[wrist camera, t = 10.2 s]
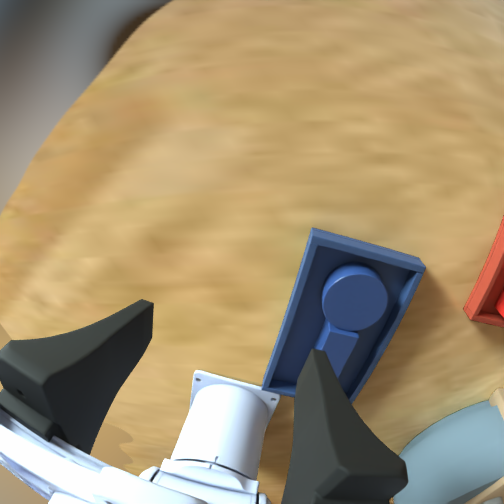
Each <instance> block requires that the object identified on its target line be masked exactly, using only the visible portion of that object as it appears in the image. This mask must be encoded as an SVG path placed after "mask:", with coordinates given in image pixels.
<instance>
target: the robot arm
mask: <svg viewBox="0 0 504 504" xmlns="http://www.w3.org/2000/svg"><path fill="white" fill-rule="evenodd" d="M153 309H154V303H152V302H149V301H146V300H143V299H141V300H139V301H137V302H135V303H134V304H132V305H130V306H128V307H126V308H124V309H122V310H120V311H119V312H117V313H115V314H113V315H111V316H109V317H107V318H105V319H102V320H100V321H98V322H96V323H94V324H91V325H89V326H86V327H84V328H81V329H78V330H75V331H72V332H68V333H64V334H60V335H56V336H52V337H46V338H39V339H31V340H11V341H10V342H9V343H7V344H6V345H5V346H4V347H3V348H2V349H1V350H0V381H1V384H2V386H3V389H2V391H1V392H0V464H2V465H3V466H4V467H5V468H6V469H8V470H9V471H10V472H11V473H12V474H14V475H15V476H16V477H18V478H19V479H20V480H21V481H23V482H24V483H25V484H27V485H28V486H29V487H30V488H32V489H33V490H35V491H36V492H37V493H39V494H40V495H42V496H43V497H44V498H46V499H47V500H49V503H48V504H271V501H270V500H269V499H268V498H267V495H266V494H265V493H259V492H258V487H259V482H258V481H256V479H257V474H258V468H259V463H260V457H261V452H262V446H263V440H264V435H265V430H266V428H267V426H268V424H269V422H270V420H271V417H272V415H273V413H274V411H275V409H276V406H277V404H278V402H279V400H280V398H281V395H280V394H276V393H271V392H267V391H262V390H261V389H262V387H261V386H256V385H252V384H248V383H244V382H241V381H237V380H233V379H229V378H226V377H222V376H218V375H215V374H211V373H208V372H205V371H201V370H196V371H195V373H194V377H193V385H192V393H191V401H190V410H189V414H188V416H187V419H186V421H185V424H184V426H183V429H182V431H181V434H180V436H179V439H178V441H177V444H176V446H175V449H174V451H173V454H172V456H171V459H170V460H169V459H164V461H163V463H162V466H161V468H158V467H156V466H153V467H151V468H149V469H147V470H145V471H144V472H142V473H141V475H140V476H139V477H138V476H135V475H133V474H130V473H128V472H126V471H123V470H120V469H117V468H115V467H112V466H110V465H108V464H106V463H104V462H102V461H100V460H98V459H96V458H94V457H92V456H90V453H91V450H92V447H93V444H94V442H95V439H96V437H97V434H98V432H99V430H100V427H101V425H102V423H103V421H104V418H105V416H106V414H107V412H108V410H109V408H110V406H111V404H112V402H113V400H114V398H115V396H116V394H117V393H118V391H119V389H120V388H121V386H122V385H123V383H124V382H125V380H126V379H127V378H128V376H129V375H130V373H131V372H132V370H133V369H134V368H135V366H136V365H137V363H138V362H139V360H140V359H141V357H142V356H143V354H144V352H145V351H146V349H147V347H148V345H149V343H150V341H151V339H152V329H153ZM407 484H408V474H407V467H406V463H405V461H404V460H403V459H401V458H400V457H399V456H398V455H396V454H395V453H394V452H393V451H391V450H390V449H389V448H388V447H387V446H386V445H385V444H384V443H383V442H381V441H380V440H379V439H378V438H377V436H376V435H375V434H374V433H373V432H372V431H371V430H370V429H369V428H368V426H367V425H366V424H365V423H364V422H363V420H362V419H361V418H360V416H359V415H358V413H357V412H356V411H355V409H354V408H353V406H352V405H351V403H350V401H349V399H348V398H347V396H346V394H345V392H344V391H343V389H342V387H341V385H340V383H339V381H338V379H337V377H336V374H335V372H334V370H333V368H332V366H331V363H330V361H329V359H328V356H327V354H326V352H325V351H322V350H317V349H313V348H312V349H311V351H310V354H309V356H308V358H307V360H306V362H305V364H304V367H303V369H302V371H301V373H300V375H299V377H298V379H297V386H296V392H295V399H294V430H293V447H292V453H291V459H290V465H289V470H288V475H287V480H286V485H285V489H284V494H283V498H282V502H281V504H389V499H390V498H392V497H393V496H395V495H396V494H398V493H399V492H400V491H402V490H403V489H404V488H405V487H406V486H407ZM257 492H258V494H257Z"/></svg>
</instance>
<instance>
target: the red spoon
mask: <svg viewBox="0 0 504 504" xmlns="http://www.w3.org/2000/svg"><path fill="white" fill-rule="evenodd" d="M494 307H495V308H496V309H497V310H498V312H499V313H500V314H501V315H502V317H503V318H504V288H503V290H502V292H501V294H500V296H499V298H498V300H497V302H496V304H495V306H494Z"/></svg>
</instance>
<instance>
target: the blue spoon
mask: <svg viewBox="0 0 504 504" xmlns="http://www.w3.org/2000/svg"><path fill="white" fill-rule="evenodd" d="M321 294H322V308H323V312H324V315H325V317H326V319H325V322H324V324H323V327H322V329H321V332H320V334H319V336H318V339H317V341H316V343H315V346H314V348H313V349H317V350H322V351H325V352H326V354H327V356H328V359H329V361H330V363H331V366H332V368H333V370H334V372H335V374H336V377H337V379H338V377H339V375H340V373H341V371H342V370H343V368H344V366H345V364H346V362H347V360H348V358H349V356H350V354H351V353H352V351H353V349H354V347H355V345H356V343H357V341H358V339H359V335H358V330H363V329H366V328H368V327H370V326H372V325H373V324H375V323H376V322H377V321H378V320H379V319H380V318H381V317H382V316H383V314H384V312H385V310H386V308H387V304H388V293H387V290H386V287H385V285H384V283H383V281H382V278H381V276H380V275H379V273H378V272H377V271H376V270H375V269H374V268H373V267H371V266H369V265H367V264H364V263H360V262H350V263H346V264H343V265H340V266H338V267H337V268H335V269H334V270H332V271H331V272H330V273H329V274H328V276H327V277H326V279H325V280H324V283H323V285H322V291H321Z"/></svg>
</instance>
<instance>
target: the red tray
mask: <svg viewBox="0 0 504 504" xmlns="http://www.w3.org/2000/svg"><path fill="white" fill-rule="evenodd" d="M503 288H504V217H503V219H502V222H501V225H500V228H499V230H498V233H497V236H496V238H495V241H494V243H493V246H492V248H491V251H490V253H489V256H488V258H487V260H486V263H485V265H484V267H483V269H482V272H481V274H480V276H479V278H478V280H477V282H476V285H475V287H474V289H473V291H472V293H471V295H470V297H469V299H468V301H467V303H466V305H465V306H464V308H463V310H464V311H465V313H466V314H467V316H468V317H469V318H470V320H473V321H477V322H482V323H486V324H490V325H495V326H499V327H504V318H503V317H502V315H501V314H500V313H499V312H498V310H497V309H496V308H495V307H494V306H495V304H496V302H497V300H498V298H499V296H500V294H501V292H502V290H503Z"/></svg>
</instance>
